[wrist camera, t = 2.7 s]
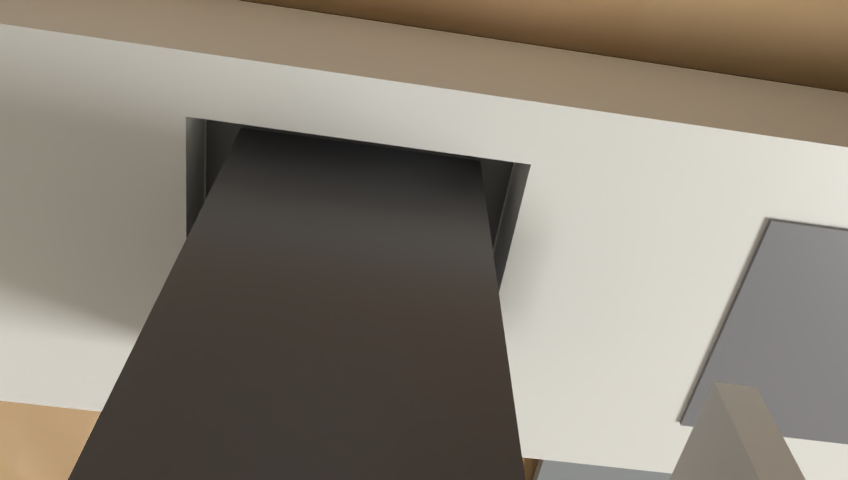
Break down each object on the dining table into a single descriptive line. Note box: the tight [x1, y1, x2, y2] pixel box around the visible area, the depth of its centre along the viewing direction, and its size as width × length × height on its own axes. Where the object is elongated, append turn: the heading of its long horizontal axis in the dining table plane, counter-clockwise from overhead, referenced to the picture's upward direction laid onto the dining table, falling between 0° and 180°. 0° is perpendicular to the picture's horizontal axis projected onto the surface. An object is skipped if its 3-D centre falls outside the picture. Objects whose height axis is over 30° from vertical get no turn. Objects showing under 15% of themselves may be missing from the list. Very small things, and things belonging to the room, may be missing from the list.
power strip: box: [0, 0, 848, 480], centre depth 18 cm, size 9×32×4 cm, turn 81°
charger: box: [68, 128, 525, 480], centre depth 13 cm, size 5×5×10 cm
